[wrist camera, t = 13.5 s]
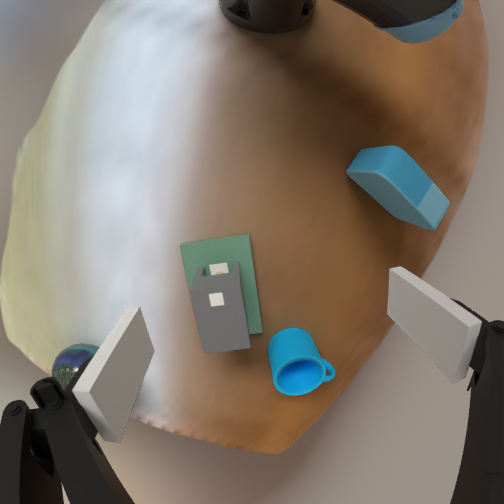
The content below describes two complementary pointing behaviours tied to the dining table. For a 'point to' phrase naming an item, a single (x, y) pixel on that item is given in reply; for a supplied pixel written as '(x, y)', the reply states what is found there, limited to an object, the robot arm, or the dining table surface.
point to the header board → (226, 267)
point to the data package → (399, 185)
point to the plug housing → (220, 310)
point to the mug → (297, 362)
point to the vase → (71, 362)
